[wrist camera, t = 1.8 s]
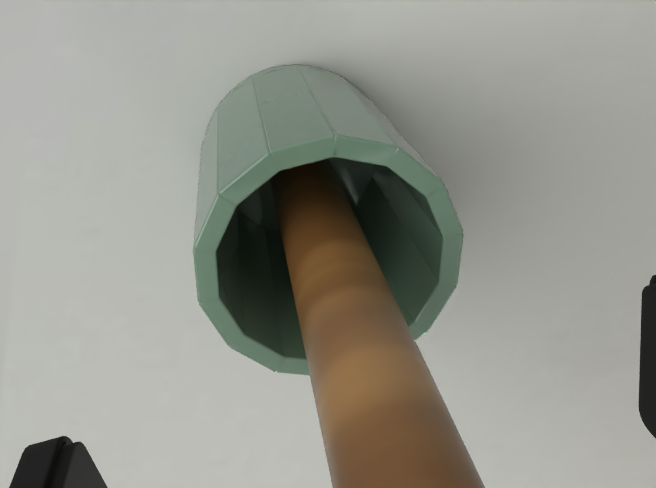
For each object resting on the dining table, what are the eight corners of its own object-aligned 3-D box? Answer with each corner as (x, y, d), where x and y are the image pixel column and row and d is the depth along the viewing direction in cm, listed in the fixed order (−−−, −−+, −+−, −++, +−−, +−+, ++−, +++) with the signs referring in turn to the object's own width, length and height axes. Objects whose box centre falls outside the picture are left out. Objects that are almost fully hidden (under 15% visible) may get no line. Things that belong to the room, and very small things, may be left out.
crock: (175, 91, 20) (152, 181, 13) (367, 43, 20) (448, 105, 13) (230, 256, 23) (236, 404, 16) (397, 212, 23) (476, 338, 16)
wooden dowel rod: (255, 124, 20) (341, 587, 6) (315, 108, 20) (541, 529, 6) (279, 212, 22) (394, 746, 7) (335, 197, 22) (553, 699, 8)
